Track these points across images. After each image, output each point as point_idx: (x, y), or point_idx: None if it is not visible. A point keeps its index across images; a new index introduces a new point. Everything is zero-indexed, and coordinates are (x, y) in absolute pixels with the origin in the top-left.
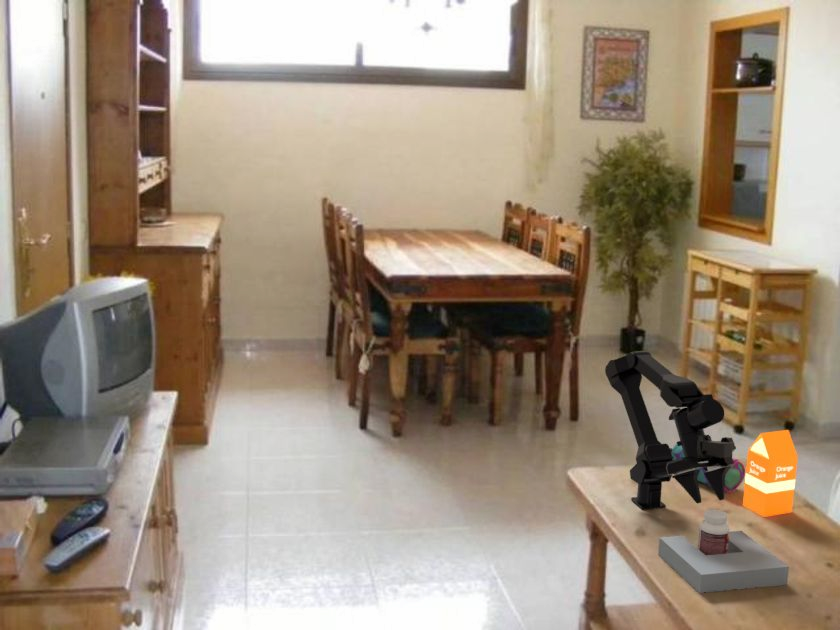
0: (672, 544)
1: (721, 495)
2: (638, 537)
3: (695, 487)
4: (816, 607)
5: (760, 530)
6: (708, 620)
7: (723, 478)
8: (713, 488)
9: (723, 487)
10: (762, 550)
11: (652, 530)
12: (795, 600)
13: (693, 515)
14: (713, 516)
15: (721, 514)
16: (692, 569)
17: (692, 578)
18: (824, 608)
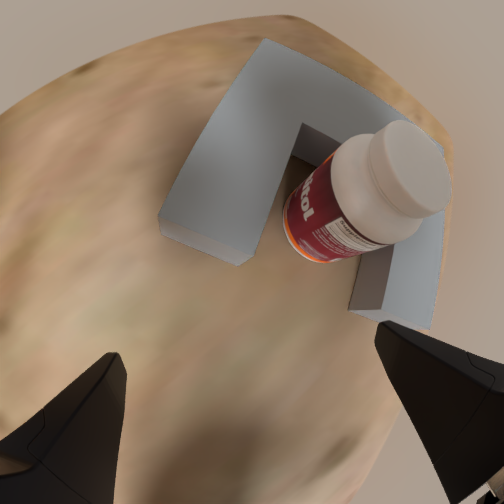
0: (430, 277)
1: (113, 374)
2: (363, 429)
3: (468, 355)
4: (279, 27)
5: (6, 278)
6: (436, 122)
7: (27, 440)
8: (115, 453)
9: (71, 395)
10: (243, 94)
11: (302, 456)
12: (291, 47)
13: None
14: (439, 157)
15: (407, 141)
16: None
17: None
18: (270, 21)
